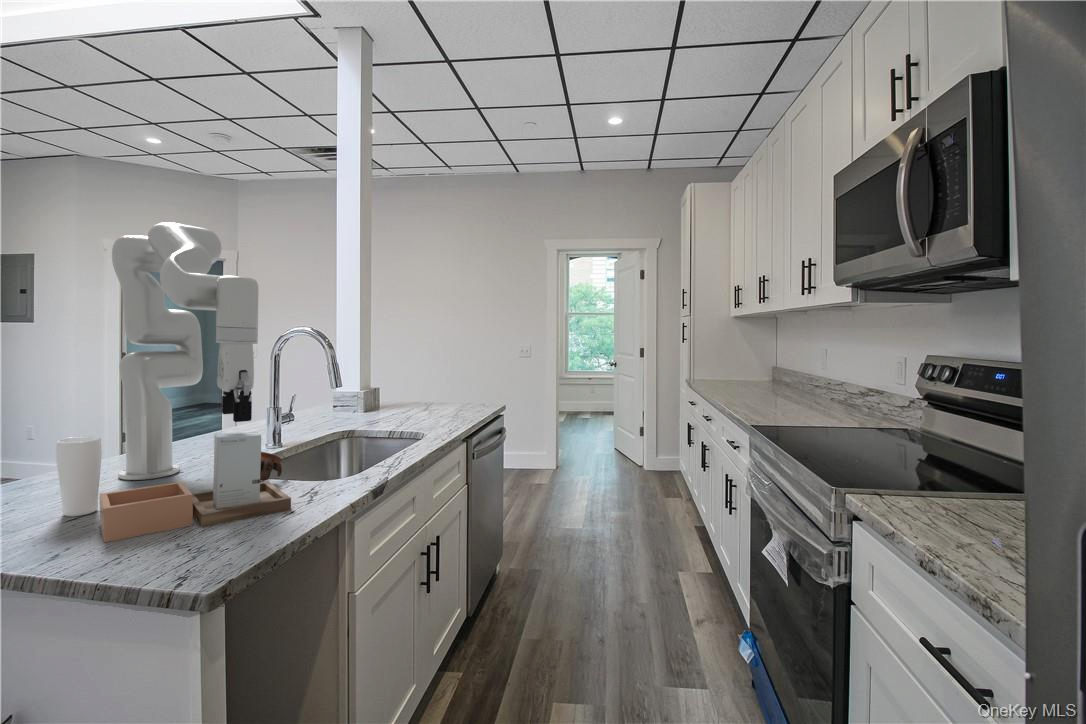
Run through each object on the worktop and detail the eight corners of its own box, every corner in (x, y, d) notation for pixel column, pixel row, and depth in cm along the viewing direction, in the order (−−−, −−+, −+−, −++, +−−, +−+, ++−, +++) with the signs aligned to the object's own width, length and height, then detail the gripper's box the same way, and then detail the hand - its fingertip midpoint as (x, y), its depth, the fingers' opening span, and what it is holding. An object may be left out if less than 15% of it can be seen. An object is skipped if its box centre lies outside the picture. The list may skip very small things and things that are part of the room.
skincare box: (215, 510, 105) (215, 437, 104) (212, 502, 109) (212, 432, 109) (262, 503, 110) (262, 433, 109) (257, 495, 115) (257, 429, 114)
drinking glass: (75, 520, 100) (74, 443, 99) (48, 517, 102) (46, 441, 101) (111, 509, 107) (110, 437, 106) (85, 506, 108) (83, 435, 107)
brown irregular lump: (228, 482, 129) (242, 451, 133) (266, 492, 135) (278, 462, 139) (247, 479, 121) (260, 446, 125) (286, 490, 127) (297, 458, 131)
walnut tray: (186, 505, 110) (186, 494, 110) (268, 491, 121) (268, 481, 121) (201, 527, 98) (201, 514, 98) (291, 509, 109) (291, 498, 109)
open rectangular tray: (100, 524, 98) (99, 493, 98) (182, 510, 107) (182, 481, 107) (104, 542, 90) (103, 508, 90) (192, 525, 99) (192, 494, 99)
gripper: (207, 333, 111) (206, 412, 112) (226, 337, 99) (225, 426, 100) (246, 334, 116) (245, 409, 118) (269, 338, 104) (268, 422, 105)
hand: (236, 417), depth 109 cm, fingers open, 9 cm apart
